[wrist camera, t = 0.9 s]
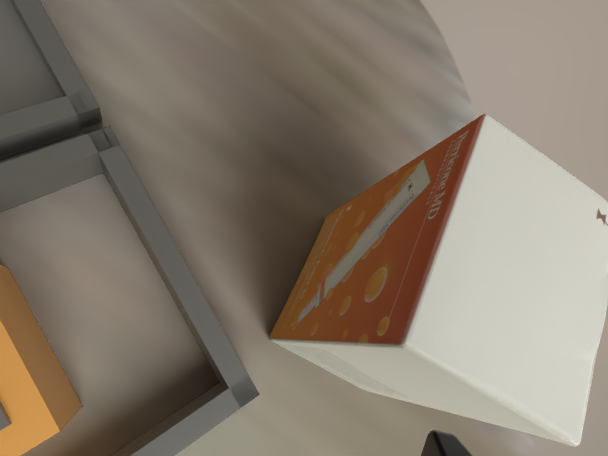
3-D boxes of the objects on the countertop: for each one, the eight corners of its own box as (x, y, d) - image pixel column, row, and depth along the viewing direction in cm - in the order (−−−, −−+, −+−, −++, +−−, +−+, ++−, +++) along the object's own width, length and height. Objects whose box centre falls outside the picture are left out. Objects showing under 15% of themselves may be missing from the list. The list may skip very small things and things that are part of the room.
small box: (324, 214, 25) (486, 104, 13) (409, 266, 26) (628, 208, 14) (263, 341, 22) (401, 347, 10) (362, 393, 23) (589, 453, 11)
